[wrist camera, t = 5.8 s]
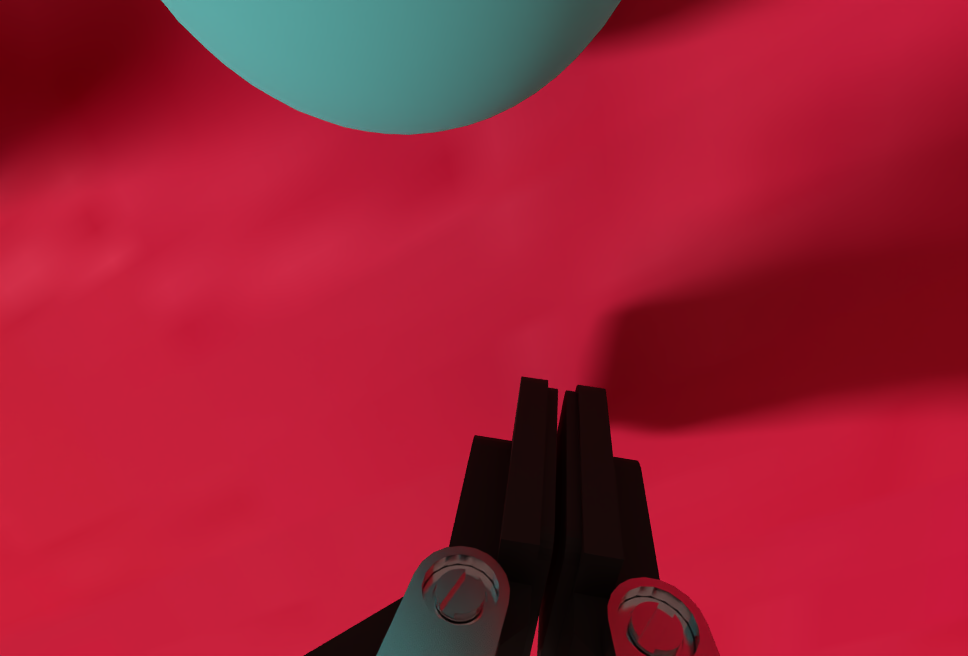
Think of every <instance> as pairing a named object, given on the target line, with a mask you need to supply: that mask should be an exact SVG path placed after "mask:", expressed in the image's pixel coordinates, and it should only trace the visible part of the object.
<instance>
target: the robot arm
mask: <svg viewBox="0 0 968 656" xmlns="http://www.w3.org/2000/svg"><path fill="white" fill-rule="evenodd" d="M557 407H558V389H554V388H548V380H542V379H535V378H528V377H521V383H520V390H519V397H518V403H517V410H516V417H515V424H514V431H513V438H512V441H509V440H502V439H496V438H489V437H483V436H477V435H475V436H474V439H473V443H472V447H471V452H470V456H469V460H468V465H467V469H466V474H465V478H464V483H463V487H462V491H461V496H460V500H459V505H458V509H457V514H456V518H455V523H454V527H453V531H452V536H451V540H450V545H449V547H446V548H444V549H441V550H439V551H436V552H434V553H432V554H431V555H430V556H428V557H427V558H426V559H425V560H423V561H422V563H421V564H420V565H419V567H418V568H417V570H416V571H415V573H414V575H413V577H412V579H411V582H410V584H409V586H408V588H407V590H406V592H405V595H404V597H402V598H400V599H399V600H397V601H395V602H394V603H392V604H390V605H389V606H387V607H385V608H384V609H382V610H380V611H378V612H377V613H375V614H373V615H372V616H370V617H368V618H367V619H365V620H363V621H362V622H360V623H358V624H357V625H355V626H353V627H351V628H350V629H348V630H346V631H345V632H343V633H341V634H340V635H338V636H336V637H335V638H333V639H331V640H329V641H328V642H326V643H324V644H323V645H321V646H319V647H318V648H316V649H314V650H313V651H311V652H309V653H307V654H306V655H304V656H530V652H531V648H532V643H533V639H534V634H535V630H536V626H537V621H538V617H539V628H538V650H537V656H720V654H719V652H718V649H717V647H716V644H715V641H714V639H713V636H712V634H711V631H710V628H709V626H708V624H707V622H706V620H705V618H704V616H703V614H702V613H701V611H700V609H699V608H698V607H697V606H696V605H695V603H694V602H693V601H692V600H691V599H690V598H689V597H688V596H687V595H686V594H684V593H683V592H681V591H680V590H679V589H677V588H676V587H675V586H672V585H670V584H668V583H666V582H663V581H661V580H660V579H659V573H658V567H657V561H656V555H655V549H654V543H653V537H652V531H651V525H650V519H649V513H648V507H647V501H646V495H645V489H644V483H643V477H642V471H641V467H640V463H639V462H638V461H637V460H630V459H624V458H618V457H613V452H612V443H611V434H610V424H609V415H608V406H607V397H606V390H605V389H603V388H596V387H590V386H583V385H577V387H576V390H575V392H574V391H567V390H566V392H565V396H564V400H563V405H562V411H561V416H560V421H559V426H558V431H557Z"/></svg>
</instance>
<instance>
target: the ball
mask: <svg viewBox="0 0 968 656" xmlns="http://www.w3.org/2000/svg"><path fill="white" fill-rule="evenodd" d="M161 1H162V2H163V3H164V4H165V5H166V7H167V8H168V9H169V10H170V12H171V13H172V14H173V15H174V16H175V18H176V19H177V20H178V21H179V23H180V24H182V25H183V26H184V27H185V28H186V29H187V30H188V31H189V32H190V33H191V34H192V35H193V36H194V37H195V38H196V39H197V40H198V41H199V42H200V43H201V44H202V45H203V46H204V47H205V48H206V49H207V50H209V51H210V52H211V53H212V54H213V55H214V56H215V57H217V58H218V59H219V60H220V61H221V62H222V63H223V64H225V65H226V66H227V67H228V68H230V69H231V70H233V71H234V72H235V73H237V74H238V75H239V76H241V77H242V78H243V79H245V80H246V81H247V82H249V83H250V84H251V85H253V86H255V87H256V88H258V89H260V90H261V91H263V92H265V93H267V94H268V95H270V96H272V97H273V98H275V99H277V100H279V101H281V102H283V103H285V104H286V105H288V106H290V107H292V108H294V109H296V110H298V111H300V112H303V113H306V114H308V115H311V116H314V117H316V118H319V119H322V120H325V121H328V122H331V123H334V124H337V125H340V126H343V127H347V128H352V129H358V130H363V131H368V132H377V133H385V134H406V135H410V134H421V133H432V132H439V131H445V130H449V129H454V128H458V127H463V126H468V125H470V124H473V123H476V122H479V121H482V120H485V119H488V118H491V117H493V116H495V115H497V114H499V113H501V112H503V111H505V110H507V109H509V108H512V107H514V106H515V105H517V104H518V103H520V102H522V101H523V100H525V99H527V98H528V97H530V96H531V95H533V94H535V93H536V92H537V91H539V90H540V89H541V88H543V87H544V86H545V85H547V84H548V83H549V82H550V81H552V80H553V79H554V78H556V77H557V76H558V75H559V74H560V73H561V72H562V71H563V70H564V69H565V68H566V67H567V66H568V65H569V64H571V63H572V62H573V61H574V60H575V59H576V58H577V57H578V55H579V54H580V53H581V52H582V51H583V50H584V49H585V48H586V47H587V45H588V44H589V43H590V42H591V41H592V39H593V38H594V37H595V36H596V35H597V34H598V32H599V31H600V30H601V29H602V28H603V26H604V25H605V24H606V22H607V21H608V19H609V18H610V16H611V15H612V13H613V12H614V10H615V9H616V7H617V6H618V4H619V3H620V1H621V0H161Z"/></svg>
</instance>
